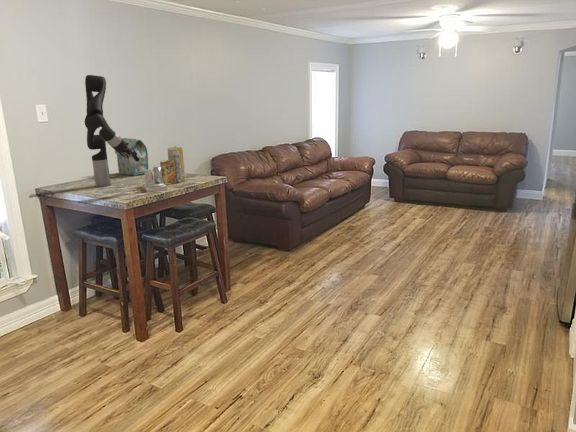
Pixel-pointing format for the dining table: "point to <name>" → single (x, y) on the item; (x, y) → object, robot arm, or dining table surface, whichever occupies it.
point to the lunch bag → (141, 154)
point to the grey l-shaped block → (152, 182)
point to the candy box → (168, 172)
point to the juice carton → (177, 162)
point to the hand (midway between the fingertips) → (135, 160)
